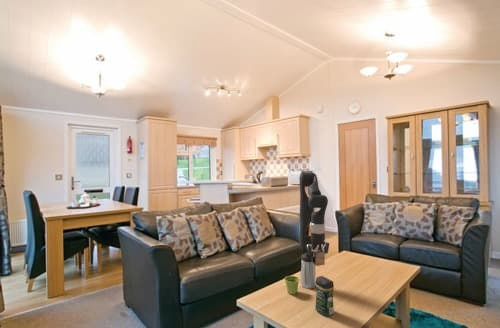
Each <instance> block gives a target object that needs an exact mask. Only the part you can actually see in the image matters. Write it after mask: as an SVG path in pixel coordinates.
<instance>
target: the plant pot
mask: <svg viewBox="0 0 500 328" xmlns="http://www.w3.org/2000/svg"><path fill="white" fill-rule="evenodd" d="M284 281H285V285H286V292H287V293H288V294H289V295H296V294H297V293H298V287H299V283H300V281H301V278H299V277H298V276H295V275H288V276H285V277H284Z"/></svg>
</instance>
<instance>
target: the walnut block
mask: <svg viewBox="0 0 500 328" xmlns="http://www.w3.org/2000/svg"><path fill="white" fill-rule="evenodd" d="M313 253H314V252H313ZM325 255H326V254H325V252H324V251H321V250H317V252H316V253H315V263H313V264H314V265H316V267H319V266H324V265H325V264H326V263H325V260H326V259H325Z"/></svg>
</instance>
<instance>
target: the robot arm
mask: <svg viewBox="0 0 500 328" xmlns="http://www.w3.org/2000/svg"><path fill="white" fill-rule="evenodd" d="M298 178H299V196H300V197H299V235H298V237H299V238H298V244H299V245H298V246H299V249H300V250H302V251H307V252H304V253H302V254H301V257H300V258H301V261H300V262H301V265H300V266H301V269H300V284H301V287H303V288H306V289H314V288H315V289H316V284H315V283H316V278H317V277H316V275H317V272H316V271H317V268H316V267H317V266H316V265H314V264H313V263H315V253H316V252H317V250H321V251H324V252H325V255H327V254H328V253H329V247H330V242H328V241H326V225H325V223H326V222H325V221H326V220H325V219H326V218H325V215H326V211H327V210H326V209H327V208H328V203H329V199H328V197H327V196H326V195H324V194H322V192H321V190H320V187H319V181H318V177H317V174H316V173H314V172H300V174H299V177H298ZM306 187H307V191H306ZM315 209H319V210H318V211H315ZM309 226H310V235H306V231H307V230H308V228H309ZM313 252H314V253H313Z"/></svg>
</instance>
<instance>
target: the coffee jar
mask: <svg viewBox="0 0 500 328" xmlns="http://www.w3.org/2000/svg"><path fill="white" fill-rule="evenodd" d="M315 284H316V287H315V289H316V293H315V294H316V295H315V310H316V312H318V313H319V314H320V315H322V316H325V317H327V316H328V317H330V316H332V315H333V314H335V313H334V310H335V309H334V288H335V286H334V281H333V280H332V279H329V278H328V277H325V276H323V275H319V276H317V277H316V283H315Z"/></svg>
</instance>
